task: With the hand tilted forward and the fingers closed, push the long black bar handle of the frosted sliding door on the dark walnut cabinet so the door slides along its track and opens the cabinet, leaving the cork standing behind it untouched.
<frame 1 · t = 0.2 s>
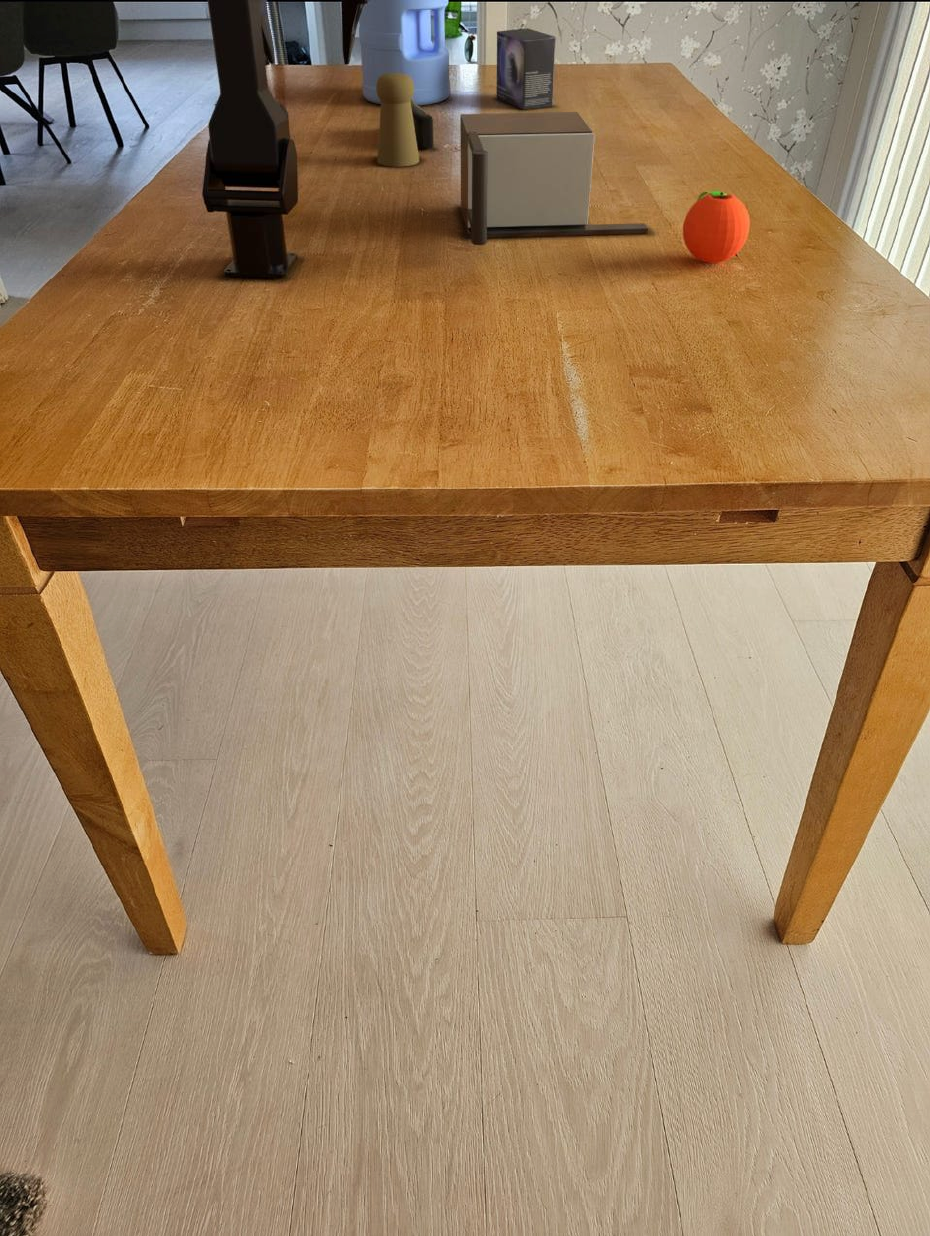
hand: (309, 63, 113), 15 cm above the table, tool pointing down, fingers open, 9 cm apart
cabinet: (521, 218, 114), on the table
small box: (523, 103, 165), on the table
clementine: (707, 261, 103), on the table
sliding door: (533, 191, 102), point 6 cm above the table, slide at 0.0 cm
mobile phone: (411, 140, 145), on the table
cork: (398, 162, 135), on the table
water jug: (406, 99, 168), on the table
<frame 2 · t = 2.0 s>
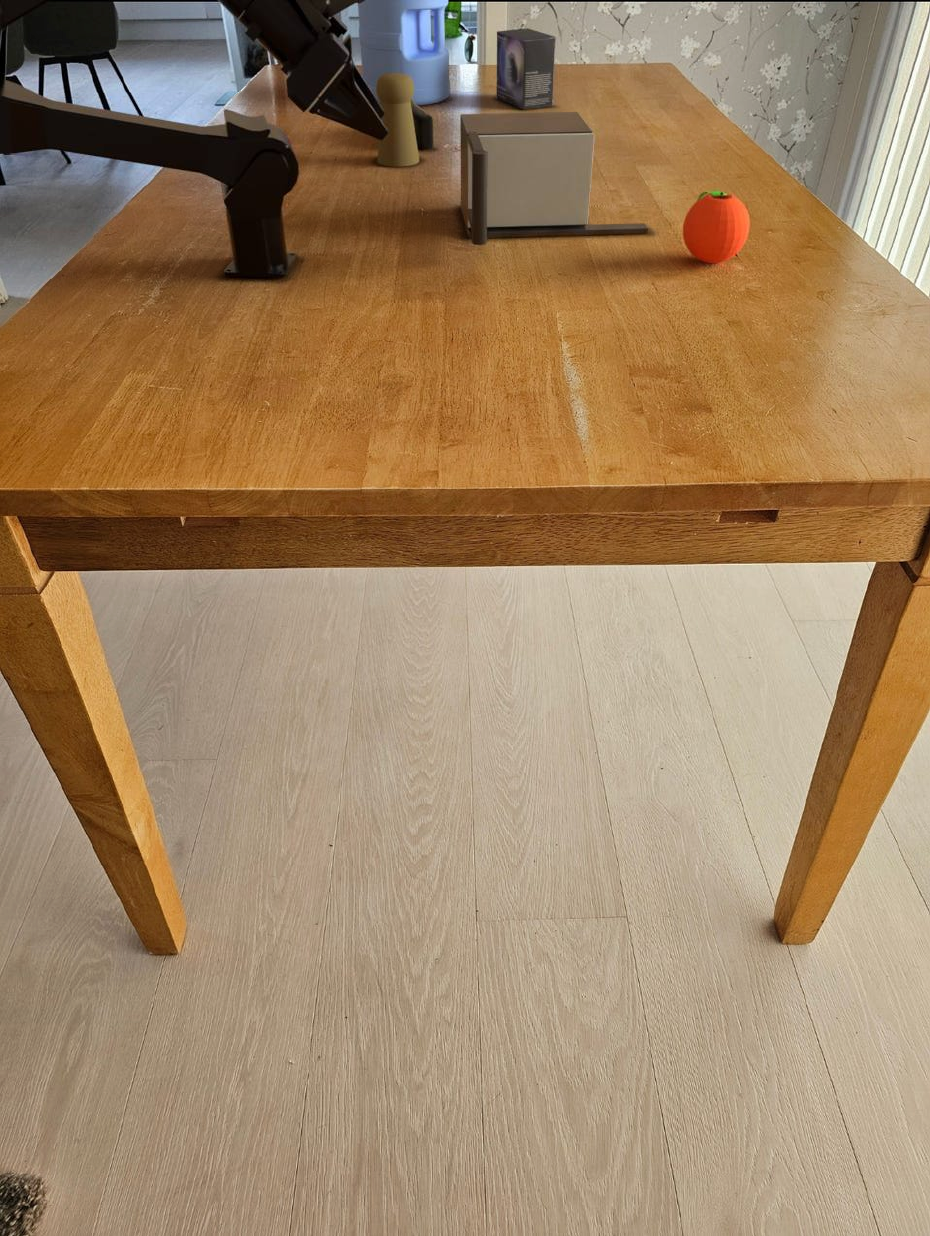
hand: (383, 126, 94), 13 cm above the table, tool tilted 45°, fingers open, 8 cm apart
nothing on the table moved.
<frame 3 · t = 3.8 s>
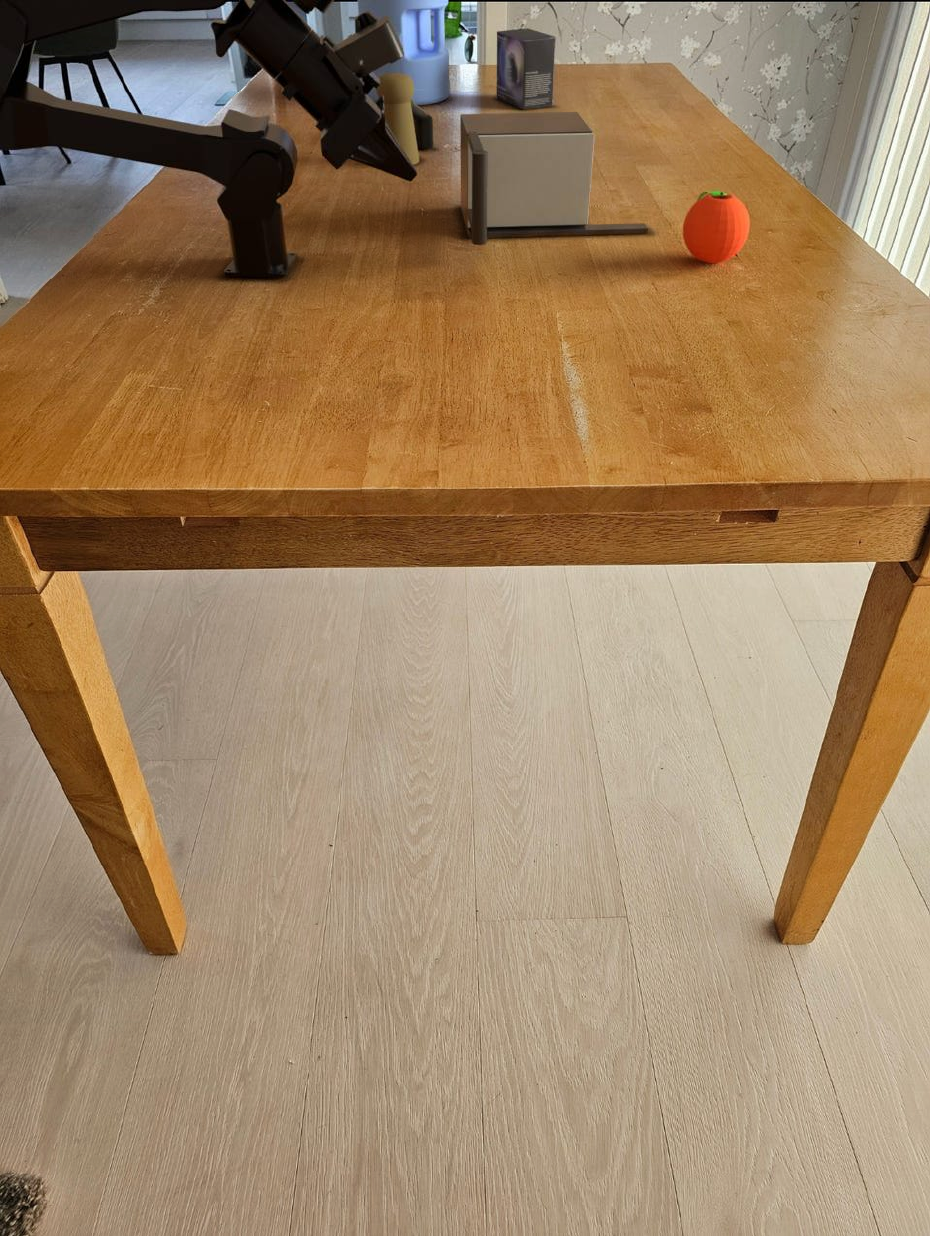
hand: (414, 177, 96), 9 cm above the table, tool tilted 45°, fingers closed
nothing on the table moved.
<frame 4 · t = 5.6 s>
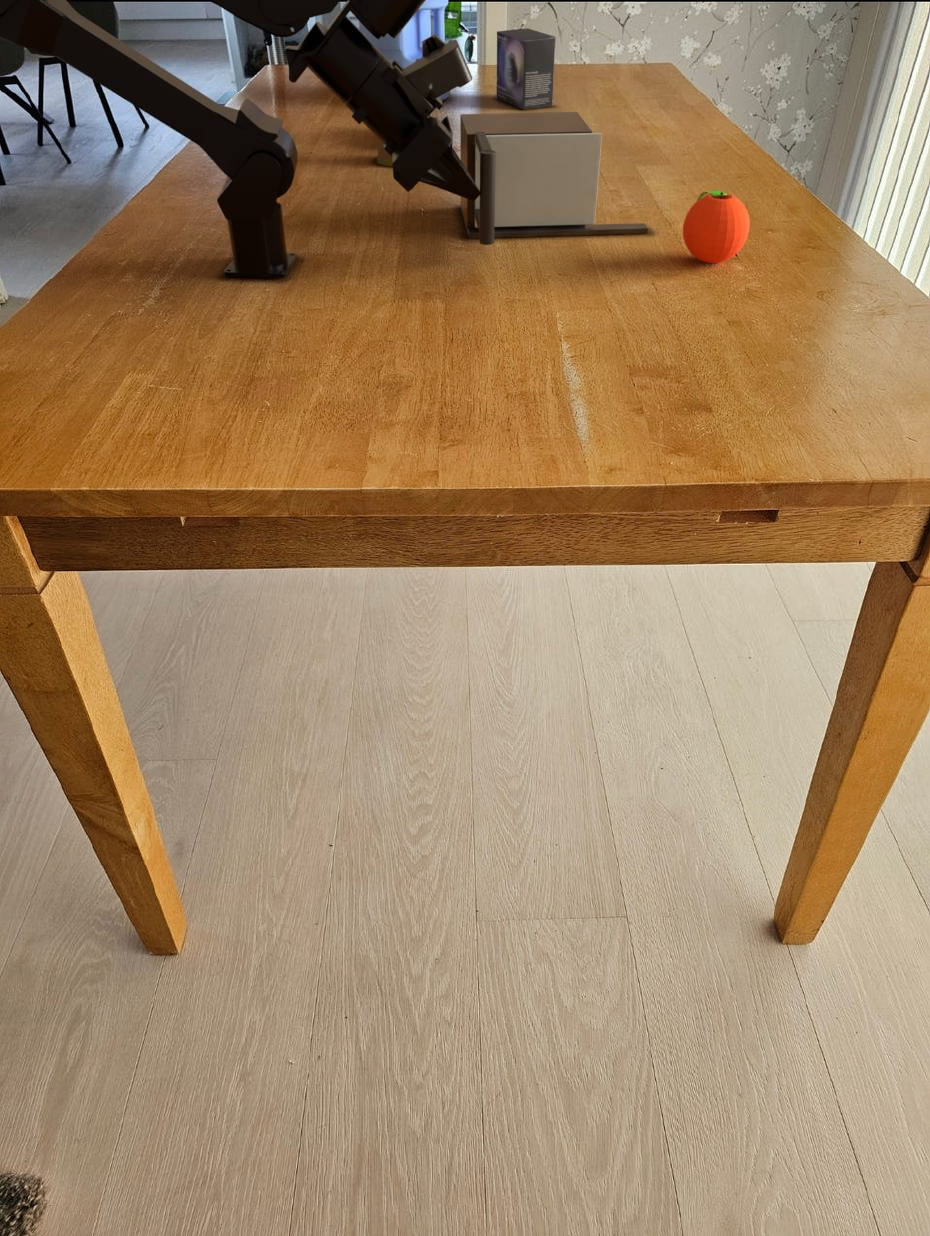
hand: (477, 196, 98), 7 cm above the table, tool tilted 45°, fingers closed, pressing on sliding door
sliding door: (541, 191, 102), point 6 cm above the table, slide at 0.8 cm, touching gripper
everything else where it was.
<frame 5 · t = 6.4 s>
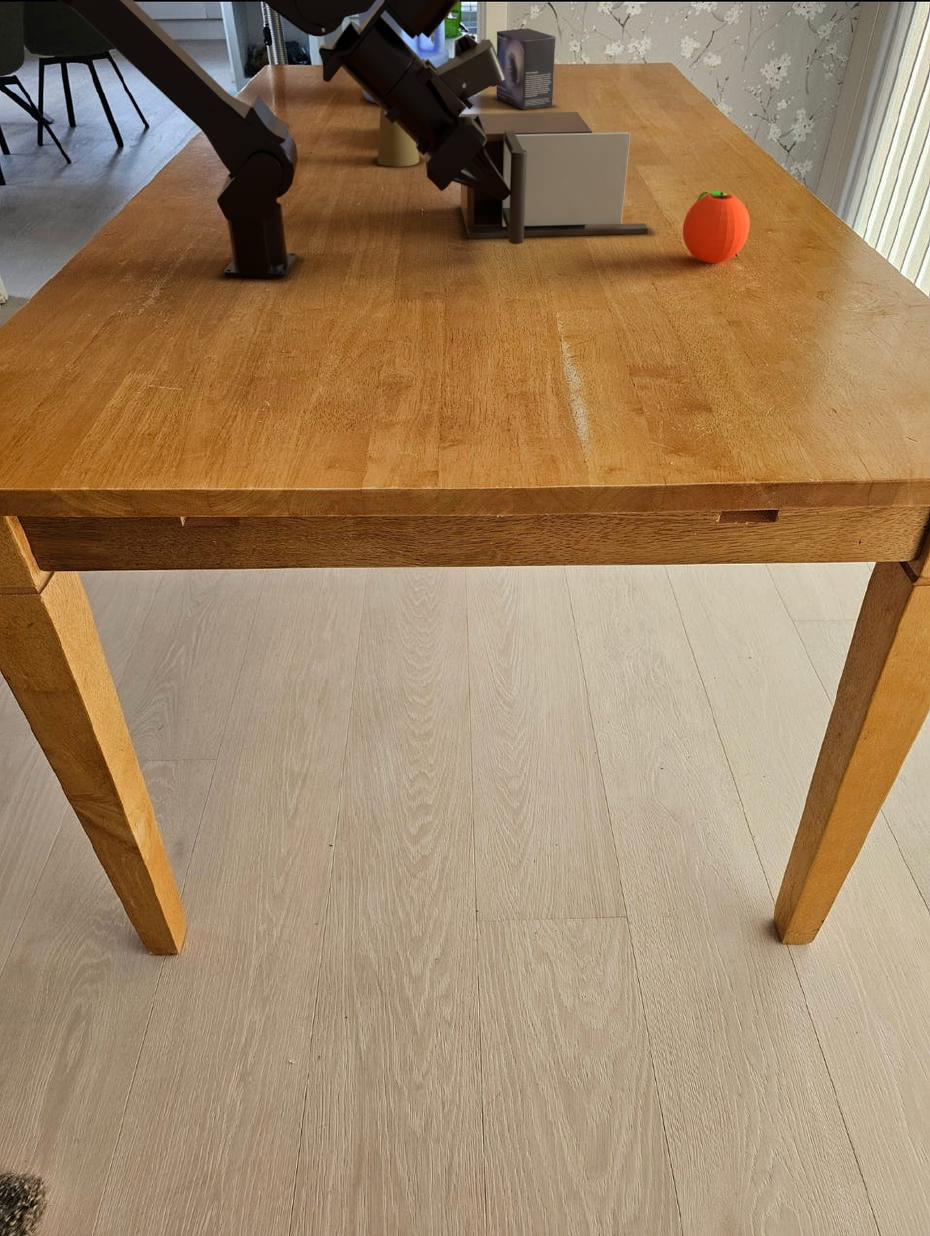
hand: (507, 196, 98), 7 cm above the table, tool tilted 45°, fingers closed
sliding door: (570, 190, 103), point 6 cm above the table, slide at 4.0 cm, touching gripper
everything else where it was.
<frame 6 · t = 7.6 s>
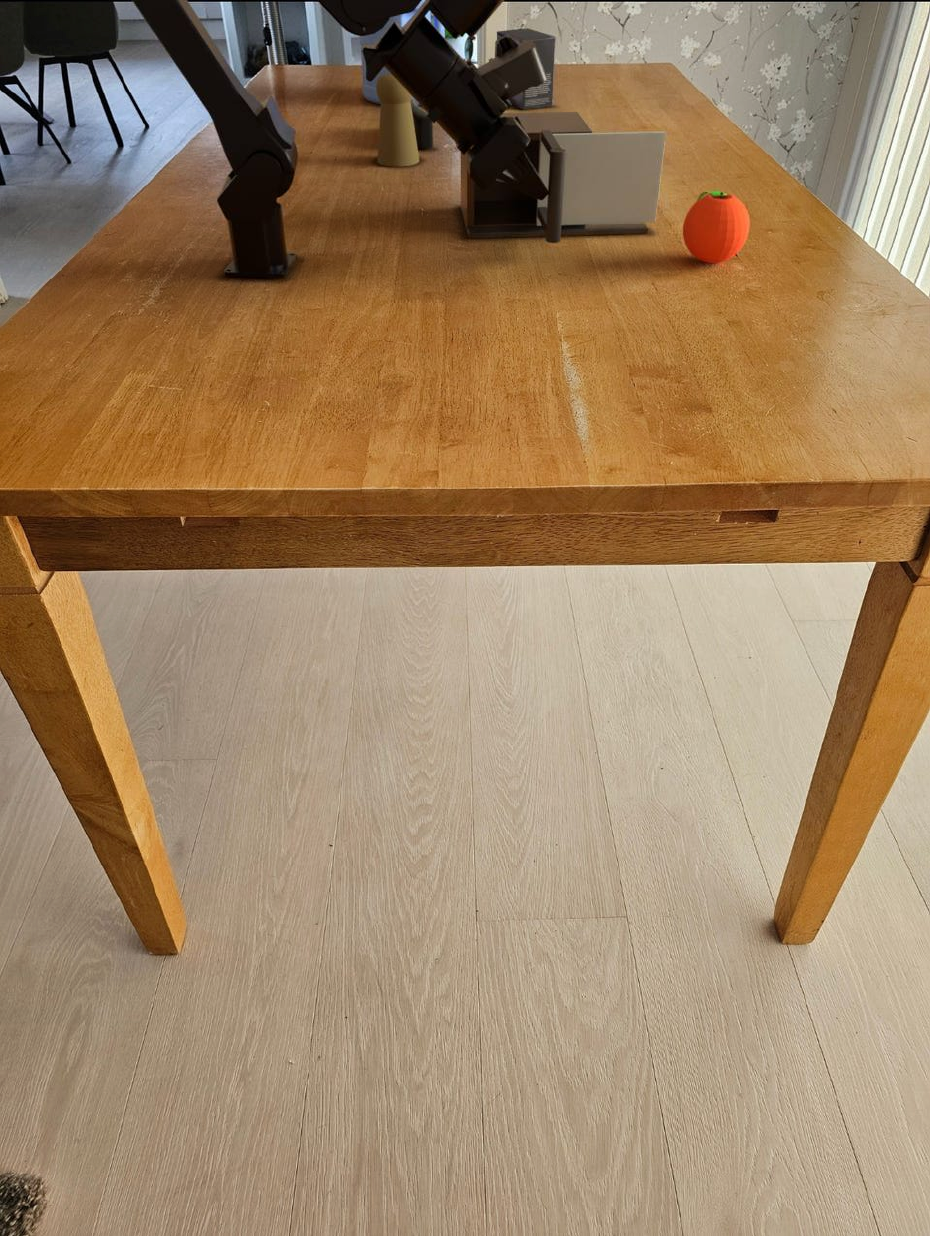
hand: (545, 196, 99), 7 cm above the table, tool tilted 45°, fingers closed
sliding door: (606, 189, 103), point 6 cm above the table, slide at 8.0 cm
everything else where it was.
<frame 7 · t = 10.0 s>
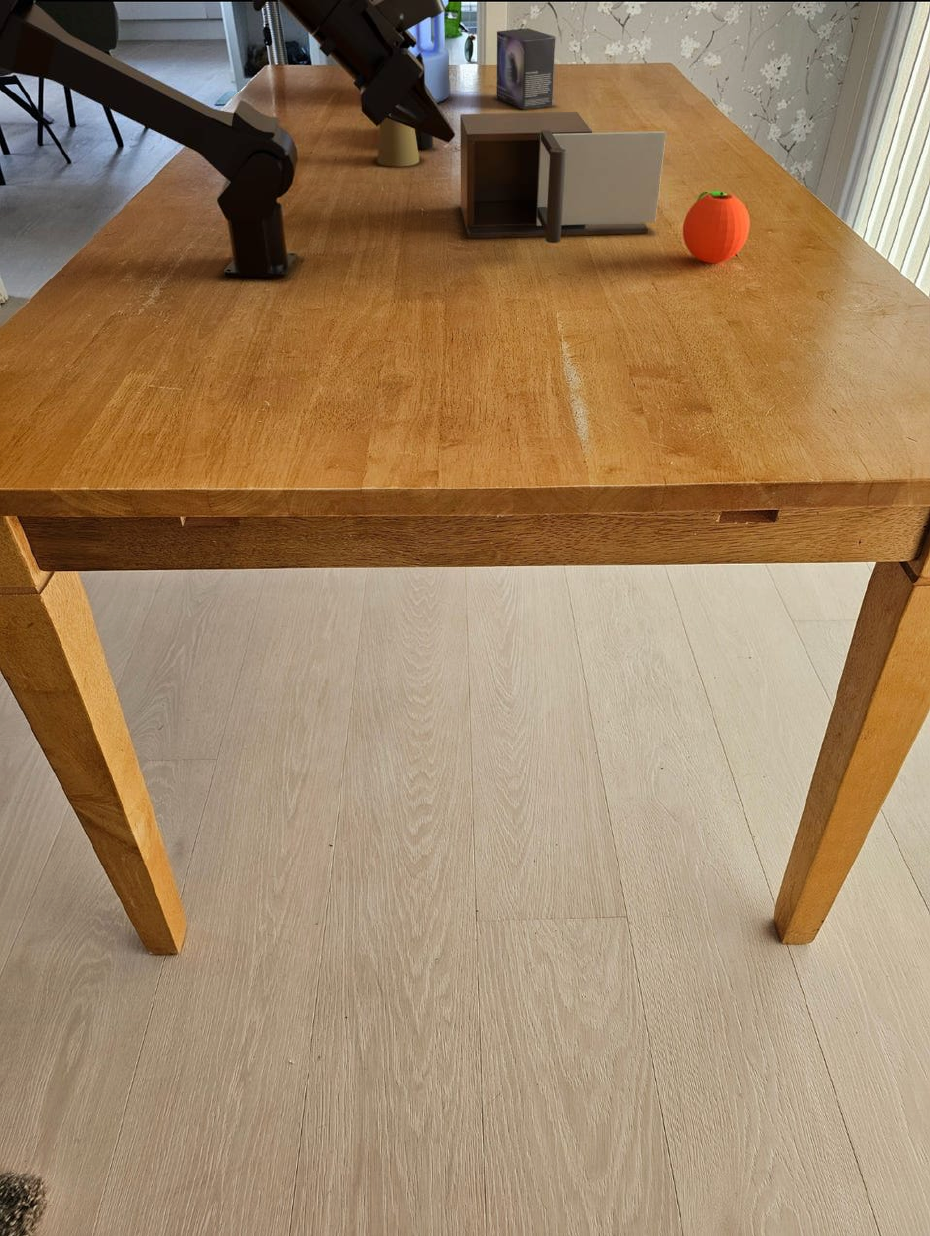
hand: (451, 138, 94), 12 cm above the table, tool tilted 45°, fingers closed
nothing on the table moved.
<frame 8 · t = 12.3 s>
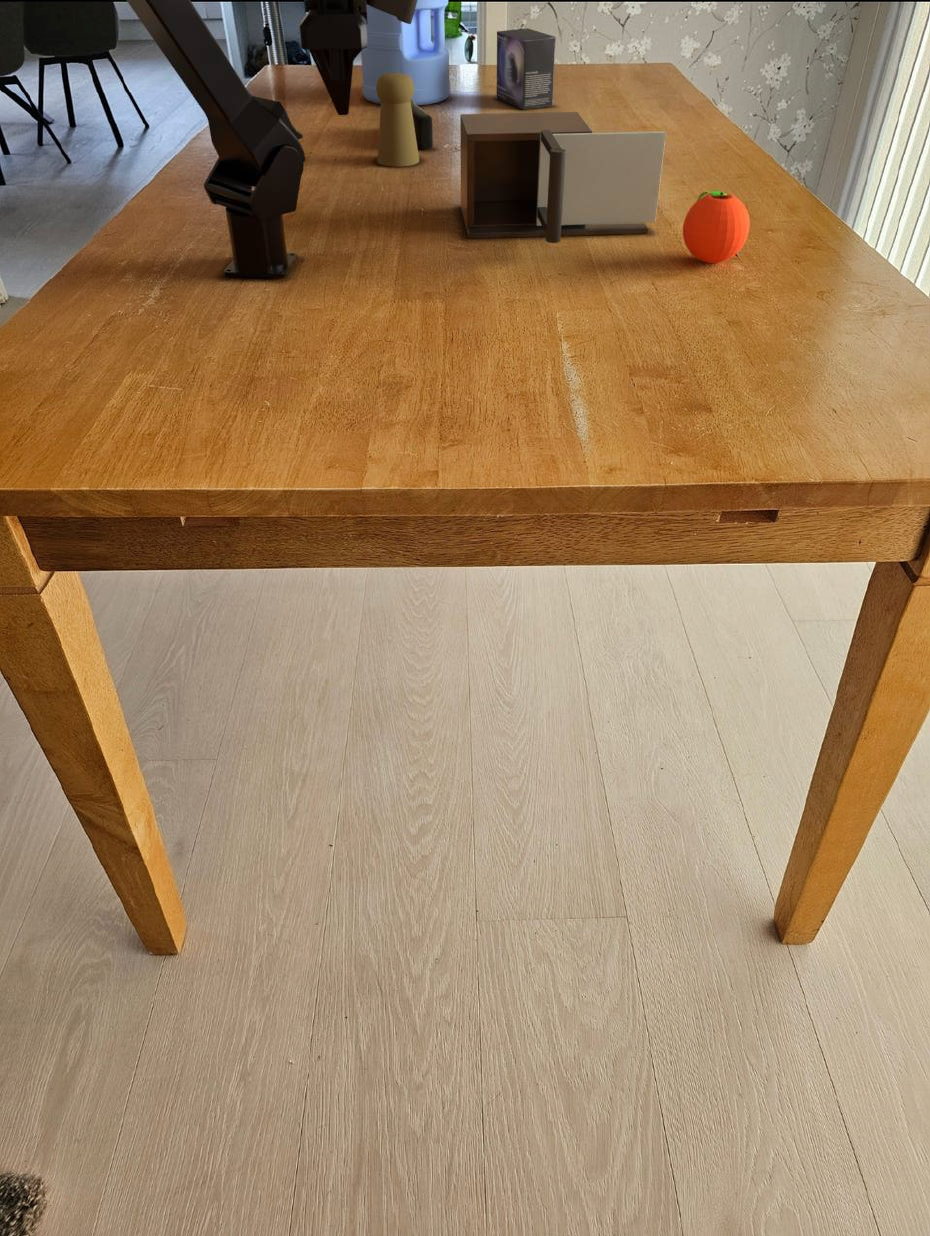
hand: (343, 114, 100), 13 cm above the table, tool pointing down, fingers closed
nothing on the table moved.
at the end: sliding door slide at 8.0 cm; cork tilted 0° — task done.
